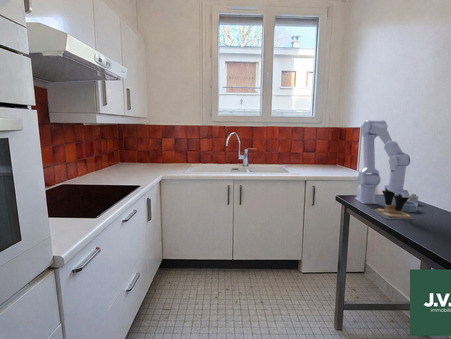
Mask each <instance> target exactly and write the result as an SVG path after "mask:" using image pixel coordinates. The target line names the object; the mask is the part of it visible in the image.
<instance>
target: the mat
mask: <svg viewBox="0 0 451 339" xmlns="http://www.w3.org/2000/svg"><path fill="white" fill-rule="evenodd" d="M377 209H378V208H371V210H370V211H372V212H374V213H375V214H377V215H378V216H380V217H382V218H383V219H385V220H392V221H393V220H394V221H395V220H398V221H400V220H401V221H402V220H405V221H407V220H408V221H409V220H411V221H416V220H417V219H416V218H415V217H412V216H411V218H390V217H387V216H385V215H384V214H382V213H380V212H379V211H377Z"/></svg>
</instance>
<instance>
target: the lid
mask: <svg viewBox="0 0 451 339" xmlns="http://www.w3.org/2000/svg"><path fill="white" fill-rule="evenodd" d="M376 209H377V211H379V212H380V213H382V214H384V215H385V216H387V217H390V218H411V217H412V216H411V215H410V214H407V212H405V211H403V208H402V210H401V211H396V209H395V204H391V205H386V204H384V208H376Z"/></svg>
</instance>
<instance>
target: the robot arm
mask: <svg viewBox="0 0 451 339" xmlns="http://www.w3.org/2000/svg"><path fill="white" fill-rule="evenodd" d="M361 130H362V131H361V132H362V133H361V136H362V137H363V139H362V140H363V144H362V145H363V146H362V147H363V168H362V169H361V170H359V171H358V176H357V183H358V184H359V185H358V187H357V189H356V197H354V200H356V201H358V202H360V203H361V204H364V205H365V204H367V205H368V204H371V205H373V204H375V205H378V202H377V201H375V196H376V195H375V194H376V189H377V188H378V186H379V185H380V184H381V176H380V171H379V170H378V169H377V168H376V167H375V166H376V164H375V163H376V162H375V161H376V160H375V159H376V158H375V156H376V154H375V139H376V138H377V137H379V138H380V140H381V142H382V143H383V144H384V146H383V149H384V151H385V152H386V154H387V156H388V165H389V170H390V172H389V179H388V180H389V181H388V185H386V184H385V185H384V187H383V189H384V190H382V194H383V197H384V201H385V205H393V200H394V202H395V204H394V205H395V209H396V211H401V210H402V208H403V205H404V204H405V202H406V201H408V199H409V197H408V193H409V192H408V193H406V192H405V189H406V188H404V186H405V185H404V184H405V178H406V171H407V167H408V166H409V165H410V163H411V158H410V155H409V154H408V153H405V152H403V151H402V149H401V147H400V146H399V143H398V142H397V141H393V140H392V138H391V135H390V133H389V131H388V124H387V122H386V121H385V120H383V119H382V120H369V119H367V120H365V121H364V122H363V124H362V125H361Z"/></svg>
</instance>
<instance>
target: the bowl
mask: <svg viewBox="0 0 451 339" xmlns="http://www.w3.org/2000/svg"><path fill="white" fill-rule="evenodd" d="M418 205H419V204H418V203H415V202H412V201H408V200H407V201H406V202H405V204H404V205H403V211H402V212H405V213H416V212H418Z"/></svg>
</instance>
